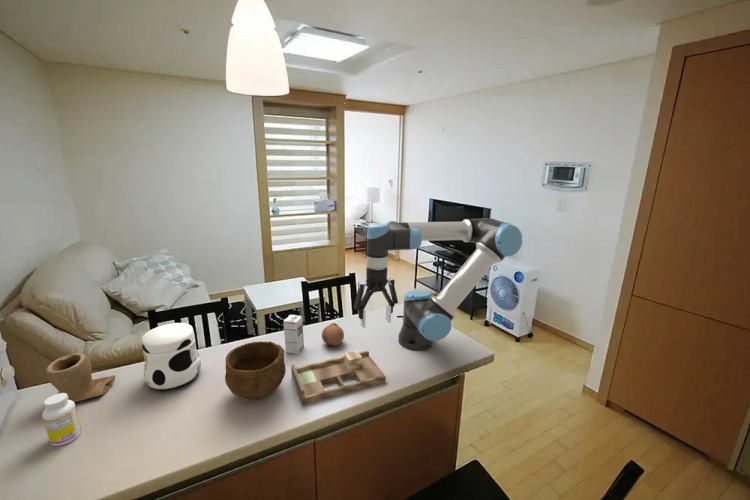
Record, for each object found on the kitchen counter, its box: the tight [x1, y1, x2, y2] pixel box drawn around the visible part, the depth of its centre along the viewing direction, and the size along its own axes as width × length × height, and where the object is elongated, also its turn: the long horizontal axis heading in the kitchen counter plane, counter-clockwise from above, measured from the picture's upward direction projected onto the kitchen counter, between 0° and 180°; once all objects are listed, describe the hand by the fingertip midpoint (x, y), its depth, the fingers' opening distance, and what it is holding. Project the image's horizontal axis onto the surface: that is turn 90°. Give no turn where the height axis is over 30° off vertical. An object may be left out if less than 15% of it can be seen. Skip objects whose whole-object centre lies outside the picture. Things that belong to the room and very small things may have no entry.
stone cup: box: [45, 352, 116, 403], centre depth 109 cm, size 15×12×15 cm
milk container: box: [141, 322, 202, 391], centre depth 118 cm, size 17×17×18 cm
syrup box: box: [283, 314, 305, 355], centre depth 138 cm, size 6×6×14 cm
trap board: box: [290, 350, 387, 407], centre depth 121 cm, size 30×16×6 cm, turn 115°
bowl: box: [224, 341, 286, 401], centre depth 112 cm, size 19×19×15 cm
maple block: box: [344, 350, 362, 370], centre depth 126 cm, size 5×5×4 cm
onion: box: [321, 322, 345, 348], centre depth 144 cm, size 10×9×10 cm
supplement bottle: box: [41, 393, 82, 447], centre depth 93 cm, size 7×7×13 cm
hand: (375, 323), depth 126 cm, fingers open, 10 cm apart
